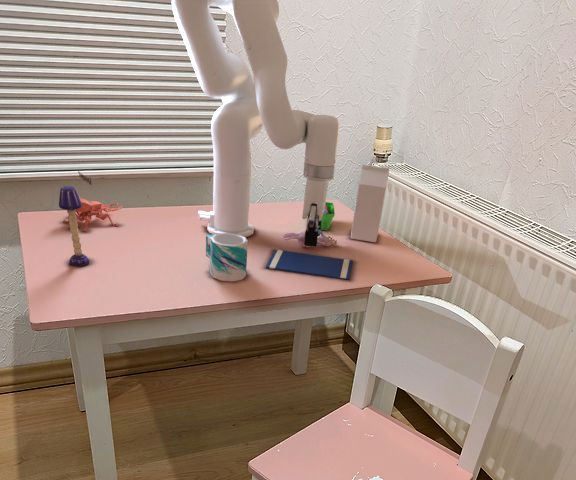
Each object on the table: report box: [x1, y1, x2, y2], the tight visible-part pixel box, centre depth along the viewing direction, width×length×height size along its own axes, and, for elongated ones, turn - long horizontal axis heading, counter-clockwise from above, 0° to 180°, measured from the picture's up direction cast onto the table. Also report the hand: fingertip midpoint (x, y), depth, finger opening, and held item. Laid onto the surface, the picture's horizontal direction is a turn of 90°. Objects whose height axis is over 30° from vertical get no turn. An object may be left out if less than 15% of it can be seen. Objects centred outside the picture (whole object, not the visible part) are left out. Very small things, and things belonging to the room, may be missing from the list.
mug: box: [205, 233, 249, 282], centre depth 131 cm, size 8×12×8 cm
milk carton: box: [350, 164, 390, 243], centre depth 156 cm, size 7×7×19 cm
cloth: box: [265, 248, 354, 281], centre depth 141 cm, size 20×12×1 cm, turn 81°
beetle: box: [62, 170, 123, 233], centre depth 149 cm, size 15×12×13 cm
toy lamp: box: [58, 185, 90, 267], centre depth 126 cm, size 5×5×17 cm
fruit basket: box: [321, 201, 336, 231], centre depth 163 cm, size 11×9×11 cm
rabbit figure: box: [282, 226, 338, 248], centre depth 150 cm, size 6×6×15 cm
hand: (312, 240), depth 151 cm, fingers closed on rabbit figure, 7 cm apart
